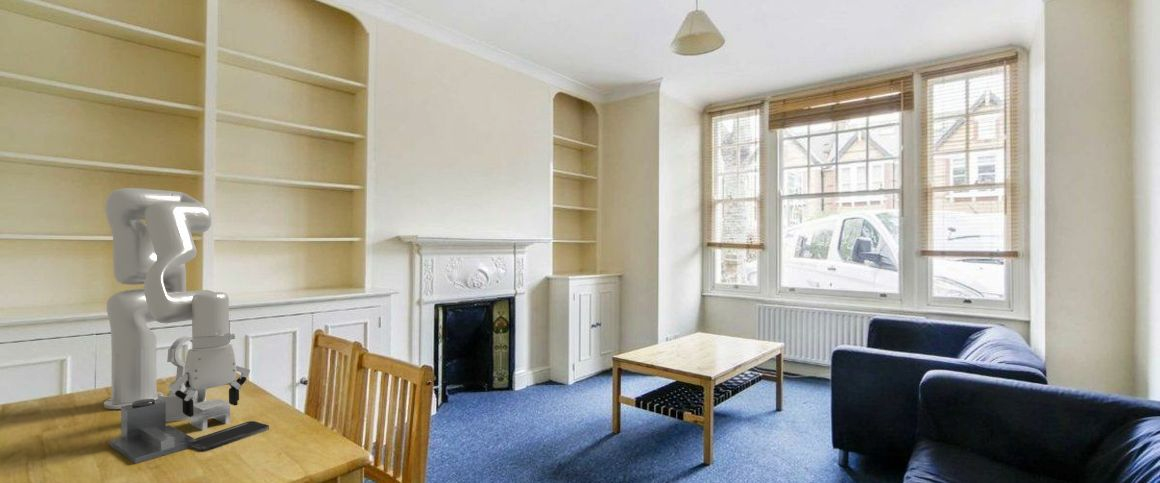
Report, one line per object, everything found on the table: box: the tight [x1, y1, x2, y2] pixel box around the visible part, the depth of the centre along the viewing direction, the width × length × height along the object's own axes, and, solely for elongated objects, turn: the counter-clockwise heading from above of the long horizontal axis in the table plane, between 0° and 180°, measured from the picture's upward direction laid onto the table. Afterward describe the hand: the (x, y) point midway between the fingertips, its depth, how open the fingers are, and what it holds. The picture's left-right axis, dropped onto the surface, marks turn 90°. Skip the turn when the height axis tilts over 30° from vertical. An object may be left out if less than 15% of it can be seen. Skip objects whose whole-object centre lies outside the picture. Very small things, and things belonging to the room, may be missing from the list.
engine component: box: [158, 335, 207, 423], centre depth 134 cm, size 11×20×10 cm
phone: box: [190, 420, 270, 452], centre depth 120 cm, size 8×1×15 cm
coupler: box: [108, 399, 198, 465], centre depth 115 cm, size 16×11×9 cm
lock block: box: [189, 397, 231, 431], centre depth 128 cm, size 6×7×5 cm
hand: (211, 409), depth 128 cm, fingers open, 9 cm apart
